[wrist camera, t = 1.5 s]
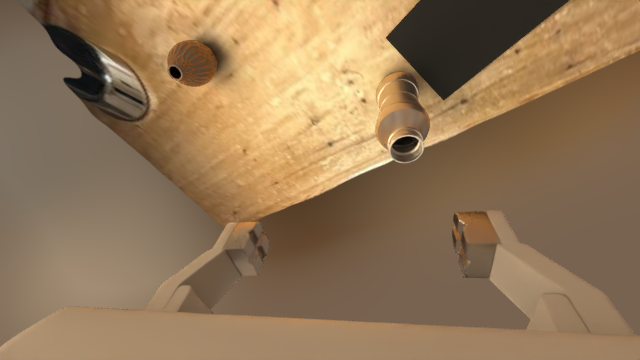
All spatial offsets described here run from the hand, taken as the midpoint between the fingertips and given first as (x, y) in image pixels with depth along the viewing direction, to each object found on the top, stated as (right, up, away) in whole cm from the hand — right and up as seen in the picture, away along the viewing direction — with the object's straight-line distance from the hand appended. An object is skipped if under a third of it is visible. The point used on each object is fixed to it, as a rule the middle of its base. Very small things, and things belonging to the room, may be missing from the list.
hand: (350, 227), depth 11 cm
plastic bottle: (+11, +17, +34) cm, 40 cm away
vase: (-22, +24, +36) cm, 48 cm away
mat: (+21, +25, +25) cm, 42 cm away
